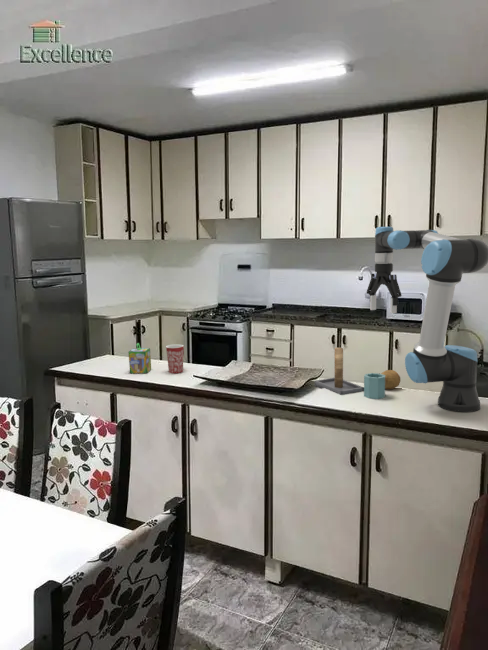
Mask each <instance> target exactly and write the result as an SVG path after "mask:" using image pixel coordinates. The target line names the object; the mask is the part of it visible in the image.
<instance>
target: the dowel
mask: <svg viewBox="0 0 488 650" xmlns="http://www.w3.org/2000/svg"><path fill="white" fill-rule="evenodd" d="M334 378H335V387H336V388H342V387H343V380H344V348H342V347H334Z"/></svg>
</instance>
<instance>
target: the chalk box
mask: <svg viewBox="0 0 488 650" xmlns="http://www.w3.org/2000/svg"><path fill="white" fill-rule="evenodd" d="M135 346H136V348H132V349H130V350H129V351H128V352H127V353H128V363H129V364H128V366H129V374H132V375H133V374H148V373H149V372H150V371H151V370H152V360H151V359H152V357H151V356H152V355H151V348H148V347H147V348H145V347H142V348H141V345H140V342H137V343H136V345H135Z"/></svg>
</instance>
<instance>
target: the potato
mask: <svg viewBox="0 0 488 650" xmlns="http://www.w3.org/2000/svg"><path fill="white" fill-rule="evenodd" d="M380 374H383V375H385V390H394V389H396V388H397V387H399V386H400V384H401V376H400V374H398V372H397V371H396V370H394V369H386V370H385V371H383V372H381V373H380Z"/></svg>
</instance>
